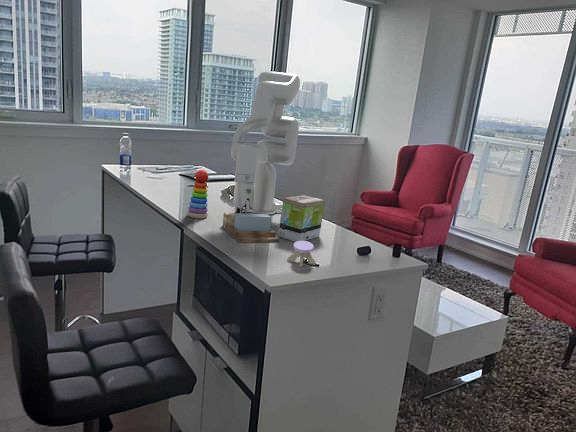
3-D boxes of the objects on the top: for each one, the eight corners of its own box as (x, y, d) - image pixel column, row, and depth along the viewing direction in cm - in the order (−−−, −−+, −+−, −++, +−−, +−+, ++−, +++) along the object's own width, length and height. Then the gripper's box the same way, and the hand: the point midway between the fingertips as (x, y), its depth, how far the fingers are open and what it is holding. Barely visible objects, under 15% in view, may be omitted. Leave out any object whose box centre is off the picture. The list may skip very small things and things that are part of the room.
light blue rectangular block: (264, 231, 175) (266, 214, 173) (269, 234, 171) (271, 217, 169) (233, 230, 170) (235, 213, 168) (237, 234, 166) (239, 216, 164)
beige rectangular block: (252, 225, 185) (253, 213, 184) (255, 228, 182) (256, 215, 181) (222, 225, 179) (223, 212, 178) (225, 228, 176) (226, 215, 175)
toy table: (292, 255, 153) (294, 238, 152) (319, 261, 151) (321, 244, 150) (283, 264, 144) (285, 246, 143) (311, 270, 142) (314, 251, 140)
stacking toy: (190, 219, 183) (194, 171, 179) (184, 214, 190) (188, 167, 186) (210, 219, 187) (214, 172, 182) (203, 214, 193) (207, 168, 189)
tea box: (300, 243, 168) (306, 203, 165) (277, 236, 173) (282, 197, 170) (320, 236, 181) (325, 199, 178) (297, 230, 186) (302, 193, 183)
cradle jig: (261, 229, 181) (262, 223, 180) (279, 241, 167) (280, 235, 166) (224, 229, 174) (225, 222, 173) (239, 242, 160) (240, 235, 160)
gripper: (262, 182, 171) (257, 231, 175) (246, 175, 185) (241, 220, 189) (243, 181, 168) (238, 231, 172) (228, 173, 182) (223, 220, 186)
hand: (240, 225), depth 180 cm, fingers closed on beige rectangular block, 3 cm apart
